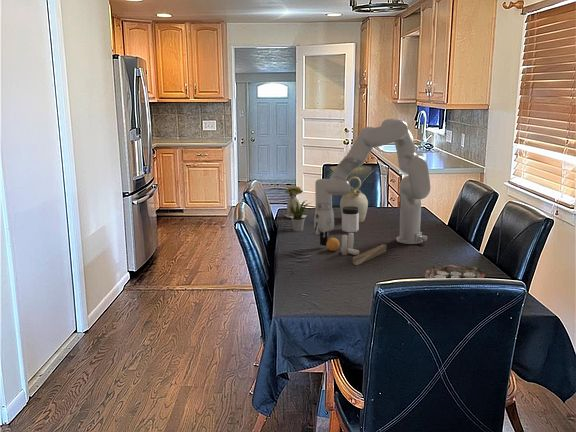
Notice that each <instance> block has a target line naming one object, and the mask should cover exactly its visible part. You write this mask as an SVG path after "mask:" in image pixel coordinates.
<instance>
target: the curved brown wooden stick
mask: <svg viewBox="0 0 576 432" xmlns="http://www.w3.org/2000/svg"><path fill="white" fill-rule="evenodd" d="M386 252H387V245H386V244H381V245H378V246H376V247H374V248H372V249H369V250H367V251H365V252H363V253H359V255H354V256H353V257H352V264H353V265H355V266H358V265H360V264H362V263H365V262H367V261H369V260H372V259H373V258H375V257H377V256H380V255H382V254H384V253H386Z"/></svg>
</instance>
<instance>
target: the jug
mask: <svg viewBox="0 0 576 432" xmlns="http://www.w3.org/2000/svg"><path fill="white" fill-rule="evenodd" d="M354 180H356V181H357V182H358V185H357V186H355V187H353V186H351V182H352V181H354ZM347 181H348V182H349V184H350V191H349V192H348V193H347V194H346V195H341V199H340V202H339V207H340V214H341V216H342V213H343V207H348V206H353V207H358V212H359V223H363V222H365V220H366V217H367V212H368V206H369V201H368V199H367V196H366V195H365V194H364V193H363V192H362V191H361V190H360V188H361V186H362V180H361V179H360V177H358V176H356V175H353V176H351V177H349V178H348V179H347Z"/></svg>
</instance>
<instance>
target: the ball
mask: <svg viewBox="0 0 576 432" xmlns="http://www.w3.org/2000/svg"><path fill="white" fill-rule="evenodd" d="M340 245H341V243H340V241H339V239H337V238H336V237H329V238H328V241H327V244H326V248H327V249H328V250H329V251H331V252H336V251H337V250H339V249H340Z"/></svg>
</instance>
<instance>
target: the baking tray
mask: <svg viewBox="0 0 576 432" xmlns="http://www.w3.org/2000/svg"><path fill="white" fill-rule="evenodd" d="M449 273H450V275H449ZM434 274H436V276H434ZM462 275H463V276H462ZM446 276H449V277H450V276H451V278H460V277H462V278H463V277H465V278H484V279H485V276H486V274H485V271H484V270H483V269H481V267H478V266H477V267H476V266H467V265H466V266H465V265H461V266H460V265H456V264H447V265H443V266H442V267H441V266H439V267H438V268H437V266H434V265H433V266H432V268H430V269H427V270H426V271H425V273H424V277H425V279H427V278H446Z"/></svg>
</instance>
